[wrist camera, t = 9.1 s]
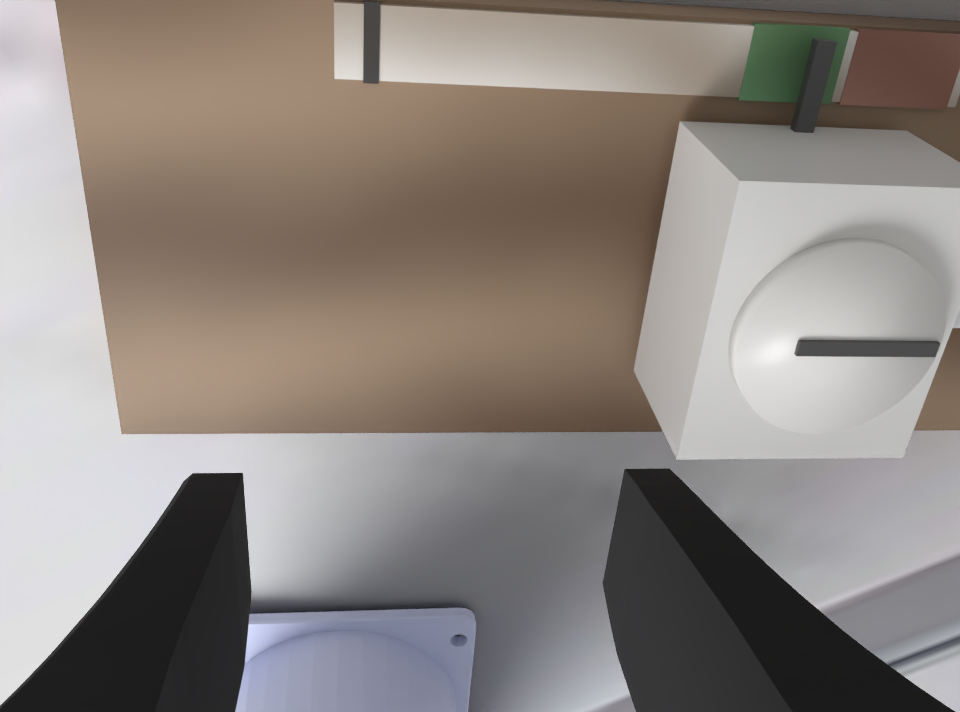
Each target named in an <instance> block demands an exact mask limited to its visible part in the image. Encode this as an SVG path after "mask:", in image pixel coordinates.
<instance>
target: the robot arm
mask: <svg viewBox="0 0 960 712" xmlns="http://www.w3.org/2000/svg"><path fill="white" fill-rule="evenodd" d="M603 587H604V592H605V597H606V603H607V608H608V613H609V618H610V623H611V628H612V633H613V637H614V642H615V647H616V651H617V655H618V658H619V661H620V664H621V667H622V671H623V674H624V677H625V680H626V683H627V686H628V689H629V692H630V695H631V698H632V701H633V704H634V707H635V710H636V712H955V711H953V710H952V709H950V708H949V707H947V706H945V705H944V704H943V703H941V702H940V701H938V700H937V699H935V698H934V697H932V696H931V695H929V694H928V693H926V692H925V691H923V690H922V689H920V688H919V687H918V686H916V685H915V684H913V683H912V682H911V681H909V680H908V679H906V678H905V677H904V676H902V675H901V674H900V673H898V672H897V671H896V670H894V669H893V668H891V667H890V666H889V665H887V664H886V663H885V662H883V661H882V660H881V659H879V658H878V657H876V656H875V655H874V654H872V653H871V652H870V651H868V650H867V649H866V648H864V647H863V646H862V645H860V644H859V643H858V642H857V641H855V640H854V639H853V638H852V637H850V636H849V635H848V634H846V633H845V632H844V631H843V630H842V629H840V628H839V627H838V626H837V625H836V624H834V623H833V622H832V621H831V620H830V619H828V618H827V617H826V616H825V615H824V614H823V613H821V612H820V611H819V610H818V609H817V608H815V607H814V606H813V605H812V604H811V603H809V602H808V601H807V600H806V599H805V598H804V597H802V596H801V595H800V594H799V593H798V592H797V591H796V590H795V589H793V588H792V587H791V586H790V585H789V584H788V583H787V582H786V581H784V580H783V579H782V578H781V577H780V576H779V575H778V574H777V573H776V572H775V571H774V570H772V569H771V568H770V567H769V566H768V565H767V564H766V563H765V562H764V561H763V560H762V559H761V558H760V557H759V556H758V555H756V554H755V553H754V552H753V551H752V550H751V549H750V548H749V547H748V546H747V545H746V544H745V543H744V542H743V541H742V540H741V539H740V538H739V537H738V536H737V535H736V534H735V533H734V532H733V531H732V530H731V529H730V528H729V527H728V526H727V525H726V524H725V523H724V522H723V521H722V520H721V519H720V518H719V517H718V516H717V515H716V514H715V513H714V512H713V511H712V510H711V509H710V508H709V507H708V506H707V505H706V504H705V503H704V502H703V501H702V500H701V499H700V498H699V497H698V496H697V495H696V494H695V493H694V492H693V491H692V490H691V489H690V488H689V487H688V486H687V485H686V484H685V483H684V482H683V481H682V480H681V479H680V478H679V477H677V476H676V475H675V474H674V473H673V472H672V471H671V470H670V469H625V470H624V475H623V481H622V486H621V491H620V496H619V501H618V507H617V512H616V517H615V522H614V527H613V533H612V538H611V543H610V548H609V553H608V559H607V564H606V569H605V574H604V579H603ZM250 603H251V580H250V566H249V552H248V539H247V525H246V512H245V498H244V484H243V473H193V474H192V475H190V476H189V477H188V478H187V479H186V480H185V481H184V482H183V483H182V485H181V487H180V488H179V490H178V491H177V493H176V495H175V496H174V498H173V499H172V501H171V502H170V504H169V505H168V507H167V508H166V510H165V511H164V513H163V514H162V516H161V517H160V519H159V520H158V521H157V523H156V524H155V526H154V527H153V529H152V530H151V531H150V533H149V534H148V536H147V537H146V538H145V540H144V541H143V542H142V544H141V545H140V547H139V548H138V549H137V551H136V552H135V553H134V555H133V556H132V557H131V558H130V560H129V561H128V562H127V564H126V565H125V566H124V567H123V569H122V570H121V571H120V573H119V574H118V575H117V576H116V578H115V579H114V580H113V582H112V583H111V584H110V586H109V587H108V588H107V589H106V591H105V592H104V593H103V594H102V596H101V597H100V598H99V599H98V600H97V602H96V603H95V604H94V605H93V606H92V607H91V609H90V610H89V611H88V612H87V613H86V614H85V616H84V617H83V618H82V619H81V620H80V621H79V622H78V624H77V625H76V626H75V627H74V628H73V629H72V630H71V632H70V633H69V634H68V635H67V636H66V637H65V638H64V640H63V641H62V642H61V643H60V644H59V645H58V647H57V648H56V649H55V650H54V651H53V652H52V653H51V654H50V655H49V656H48V658H47V659H46V660H45V661H44V662H43V663H42V664H41V665H40V666H39V667H38V668H37V669H36V670H35V671H34V672H33V673H32V674H31V676H30V677H29V678H28V679H27V680H26V681H25V682H24V683H23V684H22V685H21V686H20V687H19V688H18V689H17V690H16V691H15V692H14V693H13V694H12V695H11V696H10V697H9V698H8V699H7V700H6V701H5V702H4V703H2V704H1V705H0V712H468V707H469V697H470V687H471V677H472V667H473V657H474V647H475V637H476V620H475V615H474V613H473V612H472V611H471V610H469V609H466V608H430V609H396V610H363V611H329V612H296V613H263V614H250ZM458 634H461V635H462V636H458V637H456V636H454V635H458Z"/></svg>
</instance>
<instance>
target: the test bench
mask: <svg viewBox="0 0 960 712" xmlns="http://www.w3.org/2000/svg"><path fill="white" fill-rule="evenodd" d="M55 3H56V9H57V16H58V22H59V29H60V35H61V42H62V48H63V55H64V61H65V68H66V74H67V81H68V87H69V94H70V100H71V107H72V113H73V120H74V126H75V133H76V139H77V146H78V152H79V159H80V165H81V172H82V178H83V185H84V191H85V198H86V204H87V211H88V217H89V224H90V230H91V237H92V243H93V250H94V256H95V263H96V269H97V276H98V282H99V289H100V295H101V302H102V309H103V315H104V322H105V328H106V335H107V341H108V348H109V354H110V361H111V367H112V374H113V380H114V387H115V393H116V400H117V406H118V413H119V419H120V426H121V432H122V434H223V433H441V432H658V431H662V429H661V427H660V424H659V422H658V420H657V418H656V416H655V414H654V412H653V410H652V408H651V406H650V404H649V402H648V399H647V397H646V395H645V393H644V391H643V389H642V387H641V385H640V383H639V381H638V379H637V377H636V374H635V372H634V365H635V360H636V354H637V349H638V344H639V338H640V333H641V327H642V322H643V317H644V311H645V306H646V300H647V295H648V290H649V284H650V279H651V273H652V268H653V263H654V257H655V252H656V247H657V241H658V236H659V230H660V225H661V220H662V214H663V209H664V203H665V198H666V193H667V187H668V182H669V176H670V171H671V166H672V160H673V155H674V149H675V144H676V139H677V133H678V128H679V122H680V121H689V122H713V123H737V124H760V125H784V126H791V124H792V120H793V116H794V112H795V108H796V104H797V100H798V96H799V92H800V88H801V84H802V80H803V76H804V72H805V68H806V64H807V60H808V56H809V52H810V48H811V44H812V40H813V38H815V39H832V40H834V41H836V42H837V45H836V49H835V53H834V57H833V61H832V64H831V68H830V72H829V76H828V80H827V84H826V87H825V91H824V95H823V99H822V103H821V106H820V110H819V114H818V118H817V122H816V126H815V127H832V128H856V129H880V130H904V131H908V132H910V133H912V134H913V135H915V136H917V137H918V138H920V139H922V140H923V141H925V142H927V143H928V144H930V145H932V146H933V147H935V148H937V149H938V150H940V151H942V152H943V153H945V154H947V155H948V156H950V157H952V158H953V159H955V160H957V161H958V162H960V21H944V20H927V19H910V18H893V17H876V16H859V15H842V14H825V13H808V12H791V11H774V10H757V9H741V8H724V7H707V6H690V5H673V4H656V3H639V2H622V1H605V0H55ZM914 430H960V328H952V331H951V334H950V336H949V339H948V341H947V344H946V347H945V349H944V352H943V354H942V357H941V360H940V362H939V365H938V368H937V370H936V373H935V375H934V378H933V381H932V383H931V386H930V388H929V391H928V394H927V396H926V399H925V402H924V404H923V407H922V409H921V412H920V415H919V417H918V420H917V422H916V425H915V428H914Z"/></svg>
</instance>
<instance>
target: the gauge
mask: <svg viewBox="0 0 960 712" xmlns="http://www.w3.org/2000/svg"><path fill="white" fill-rule="evenodd" d="M836 45H837V42H836V41H834V40H832V39H815V38H813V40H812V44H811V48H810V52H809V56H808V60H807V64H806V68H805V72H804V76H803V80H802V84H801V88H800V92H799V96H798V100H797V104H796V108H795V112H794V116H793V120H792V124H791V126H784V125H760V124H737V123H713V122H689V121H680V122H679V128H678V133H677V139H676V144H675V149H674V155H673V160H672V166H671V171H670V176H669V182H668V187H667V193H666V198H665V203H664V209H663V214H662V220H661V225H660V230H659V236H658V241H657V247H656V252H655V257H654V263H653V268H652V273H651V279H650V284H649V290H648V295H647V300H646V306H645V311H644V317H643V322H642V327H641V333H640V338H639V344H638V349H637V354H636V360H635V365H634V372H635V374H636V377H637V379H638V381H639V383H640V385H641V387H642V389H643V391H644V393H645V395H646V397H647V399H648V402H649V404H650V406H651V408H652V410H653V412H654V414H655V416H656V418H657V420H658V422H659V424H660V427H661V429H662V431H663V433H664V435H665V437H666V439H667V441H668V443H669V445H670V447H671V449H672V452H673V454H674V456H675V458H676V460H722V459H835V458H903V456H904V454H905V451H906V449H907V446H908V443H909V441H910V438H911V436H912V433H913V430H914V428H915V425H916V422H917V420H918V417H919V415H920V412H921V409H922V407H923V404H924V402H925V399H926V396H927V394H928V391H929V388H930V386H931V383H932V381H933V378H934V375H935V373H936V370H937V368H938V365H939V362H940V360H941V357H942V354H943V352H944V349H945V347H946V344H947V341H948V339H949V336H950V334H951V331H952V328H960V162H958V161H957V160H955V159H953V158H952V157H950V156H948V155H947V154H945V153H943V152H942V151H940V150H938V149H937V148H935V147H933V146H932V145H930V144H928V143H927V142H925V141H923V140H922V139H920V138H918V137H917V136H915V135H913V134H912V133H910V132H908V131H904V130H880V129H856V128H832V127H815V126H816V122H817V118H818V114H819V110H820V106H821V103H822V99H823V95H824V91H825V87H826V84H827V80H828V76H829V72H830V68H831V64H832V61H833V57H834V53H835V49H836Z"/></svg>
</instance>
